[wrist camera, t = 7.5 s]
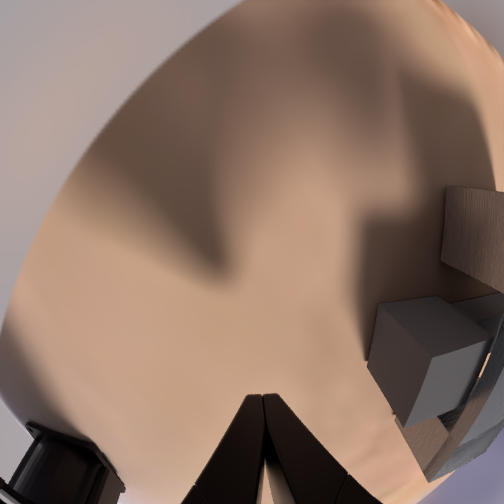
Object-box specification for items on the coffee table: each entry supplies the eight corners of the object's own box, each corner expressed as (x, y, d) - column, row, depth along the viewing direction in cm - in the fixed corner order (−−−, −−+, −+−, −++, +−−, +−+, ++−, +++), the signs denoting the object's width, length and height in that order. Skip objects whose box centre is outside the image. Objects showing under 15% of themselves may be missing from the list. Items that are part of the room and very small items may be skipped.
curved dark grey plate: (394, 420, 11) (428, 483, 7) (446, 185, 9) (543, 199, 4) (447, 402, 12) (485, 451, 7) (499, 194, 9) (577, 210, 4)
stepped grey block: (366, 366, 10) (403, 428, 7) (378, 303, 10) (431, 358, 6) (511, 325, 11) (548, 352, 7) (523, 278, 10) (566, 300, 6)
